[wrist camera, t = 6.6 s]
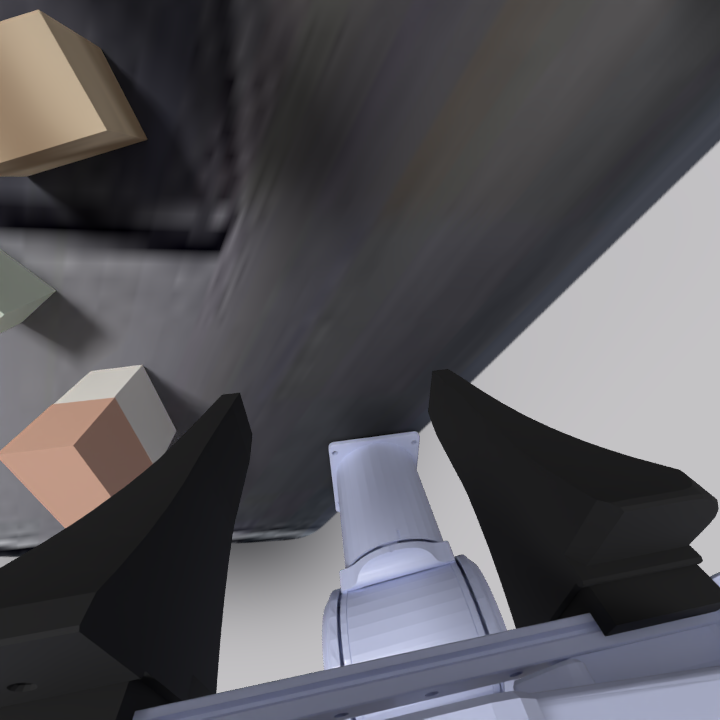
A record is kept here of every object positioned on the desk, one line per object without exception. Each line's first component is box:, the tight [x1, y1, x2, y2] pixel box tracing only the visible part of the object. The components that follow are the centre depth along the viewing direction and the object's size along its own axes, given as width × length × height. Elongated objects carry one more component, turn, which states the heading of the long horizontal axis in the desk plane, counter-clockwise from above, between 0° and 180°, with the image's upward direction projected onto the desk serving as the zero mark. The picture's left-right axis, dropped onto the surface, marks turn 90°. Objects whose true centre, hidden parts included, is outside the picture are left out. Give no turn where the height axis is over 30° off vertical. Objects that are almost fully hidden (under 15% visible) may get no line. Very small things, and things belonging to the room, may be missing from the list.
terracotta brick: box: [0, 398, 153, 528], centre depth 17 cm, size 6×3×4 cm, turn 2°
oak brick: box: [0, 10, 148, 176], centre depth 12 cm, size 6×3×4 cm, turn 105°
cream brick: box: [55, 365, 176, 463], centre depth 20 cm, size 6×3×4 cm, turn 4°
